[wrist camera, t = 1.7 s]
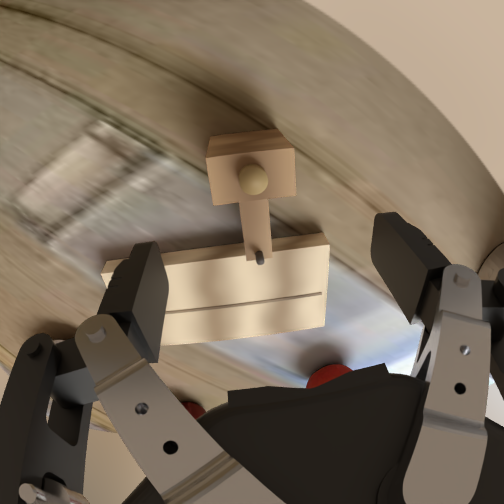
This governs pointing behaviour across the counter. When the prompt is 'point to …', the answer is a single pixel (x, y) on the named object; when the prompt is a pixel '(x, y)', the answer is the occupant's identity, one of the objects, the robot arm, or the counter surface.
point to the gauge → (252, 181)
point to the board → (243, 290)
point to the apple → (327, 374)
